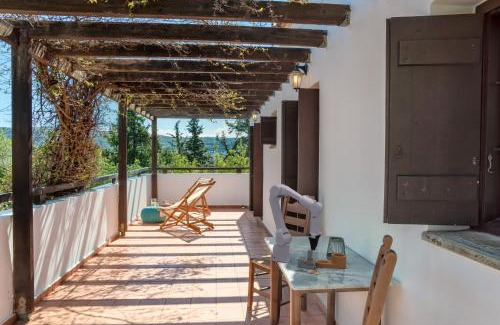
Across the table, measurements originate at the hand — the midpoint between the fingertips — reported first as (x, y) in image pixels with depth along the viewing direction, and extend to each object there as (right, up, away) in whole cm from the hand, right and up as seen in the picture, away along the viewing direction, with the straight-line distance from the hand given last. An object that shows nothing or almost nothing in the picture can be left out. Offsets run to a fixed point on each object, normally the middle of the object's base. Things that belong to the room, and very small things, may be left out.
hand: (313, 248), depth 220 cm
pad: (-2, -10, -10) cm, 14 cm away
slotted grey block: (-2, -8, 0) cm, 9 cm away
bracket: (+10, -11, +4) cm, 15 cm away
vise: (-4, -10, -2) cm, 11 cm away
